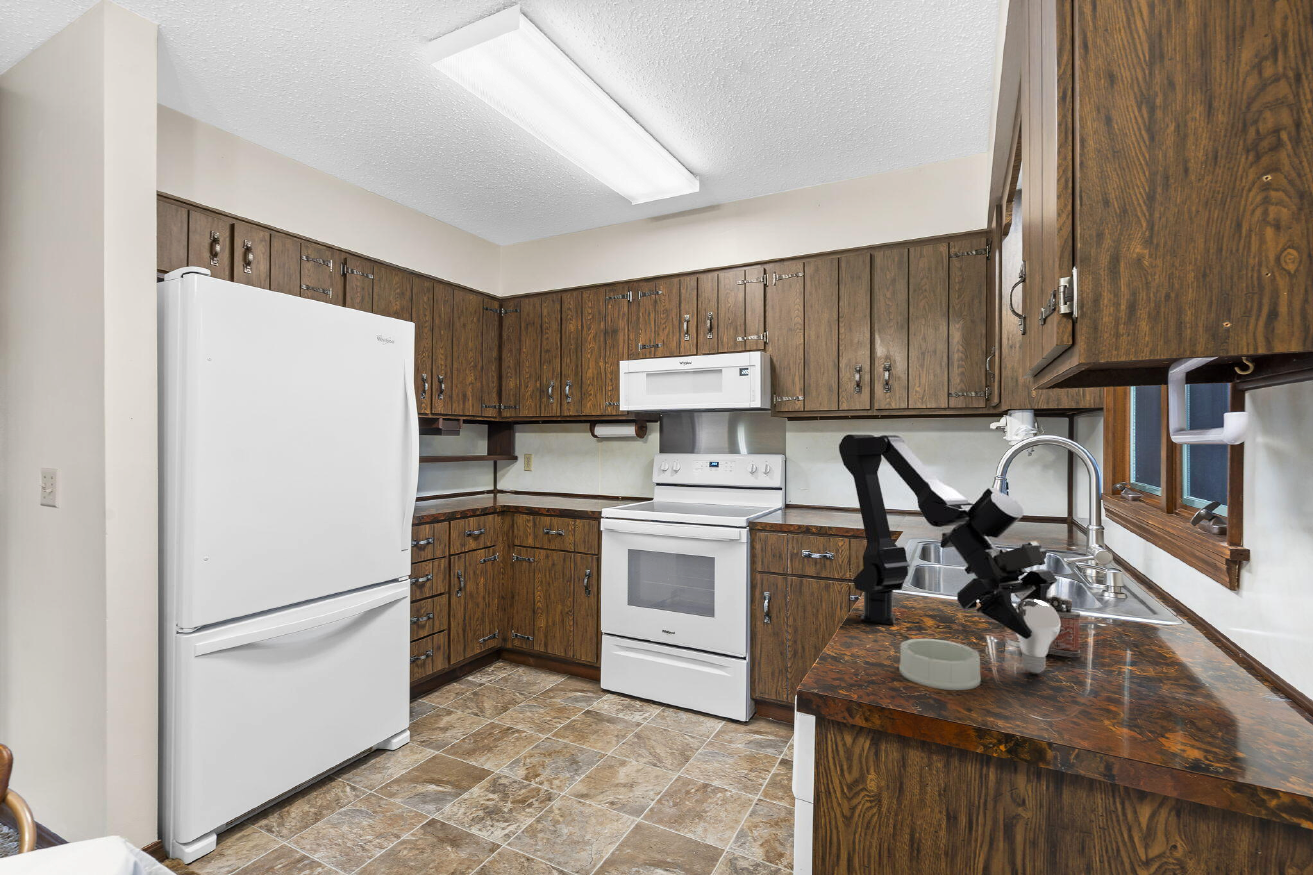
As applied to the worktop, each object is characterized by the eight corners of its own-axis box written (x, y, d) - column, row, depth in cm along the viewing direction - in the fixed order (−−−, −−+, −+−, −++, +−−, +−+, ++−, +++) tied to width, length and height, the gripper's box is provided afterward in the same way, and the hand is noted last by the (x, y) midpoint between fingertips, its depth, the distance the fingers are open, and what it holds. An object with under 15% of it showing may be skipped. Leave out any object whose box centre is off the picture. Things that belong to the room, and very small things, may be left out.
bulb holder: (900, 658, 108) (900, 634, 108) (977, 668, 103) (977, 644, 103) (898, 682, 97) (898, 656, 97) (983, 695, 93) (984, 668, 93)
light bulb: (1066, 684, 97) (1069, 606, 97) (1017, 678, 99) (1020, 602, 99) (1048, 668, 104) (1050, 595, 104) (1002, 663, 105) (1005, 592, 105)
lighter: (1080, 653, 111) (1080, 596, 111) (1080, 658, 109) (1080, 600, 109) (1027, 644, 116) (1027, 590, 116) (1026, 649, 113) (1026, 594, 113)
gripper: (973, 528, 101) (1040, 614, 91) (1046, 522, 109) (1115, 601, 99) (932, 568, 108) (990, 652, 98) (1003, 560, 116) (1064, 637, 106)
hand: (1042, 634), depth 100 cm, fingers closed on light bulb, 6 cm apart
